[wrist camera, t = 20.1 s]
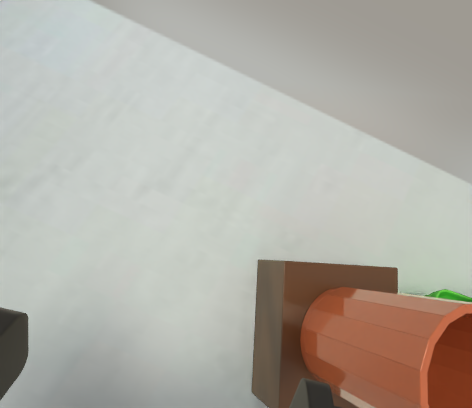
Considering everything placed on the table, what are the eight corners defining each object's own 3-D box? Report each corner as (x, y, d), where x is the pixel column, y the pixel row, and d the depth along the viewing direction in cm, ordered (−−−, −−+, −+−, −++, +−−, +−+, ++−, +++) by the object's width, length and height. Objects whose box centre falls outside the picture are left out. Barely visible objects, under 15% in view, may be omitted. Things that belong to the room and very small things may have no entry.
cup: (301, 284, 23) (419, 303, 15) (382, 287, 25) (525, 305, 17) (298, 393, 22) (422, 480, 14) (383, 386, 24) (534, 457, 16)
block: (257, 259, 26) (284, 260, 23) (360, 266, 29) (397, 267, 26) (251, 392, 25) (278, 417, 21) (359, 384, 28) (399, 404, 24)
